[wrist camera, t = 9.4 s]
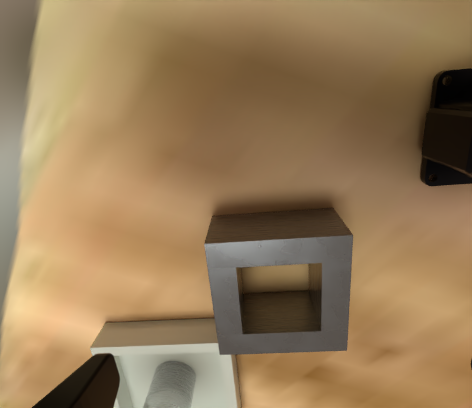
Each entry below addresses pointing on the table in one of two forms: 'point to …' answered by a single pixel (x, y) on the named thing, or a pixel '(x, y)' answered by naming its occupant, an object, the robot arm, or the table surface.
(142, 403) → the tray
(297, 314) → the bracket
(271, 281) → the table surface
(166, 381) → the pin
